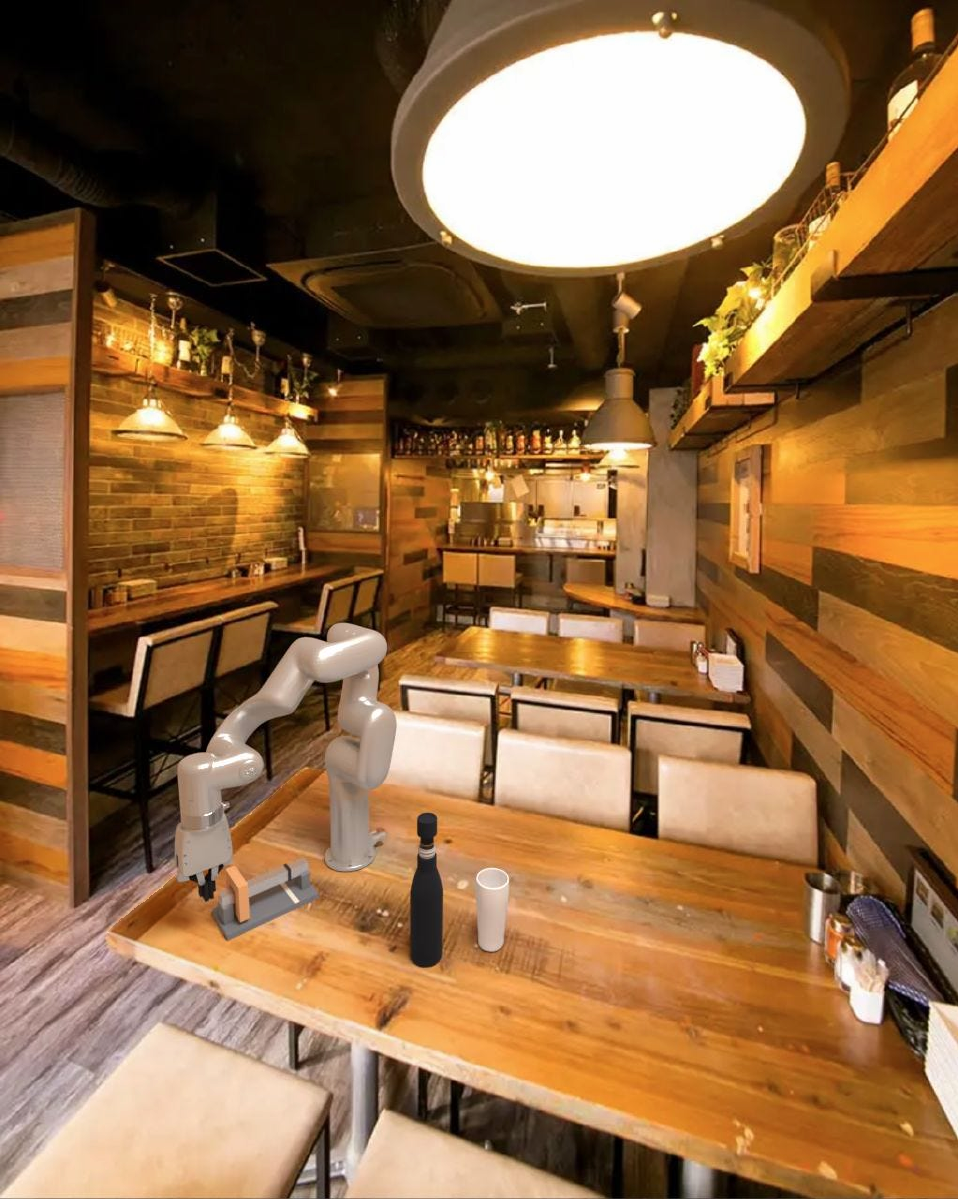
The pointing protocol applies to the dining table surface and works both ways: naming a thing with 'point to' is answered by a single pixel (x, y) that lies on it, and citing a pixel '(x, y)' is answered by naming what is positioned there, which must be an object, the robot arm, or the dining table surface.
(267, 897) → the pipe board
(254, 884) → the grey long bar
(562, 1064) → the dining table surface
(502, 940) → the drinking glass
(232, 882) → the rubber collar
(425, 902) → the black bottle
